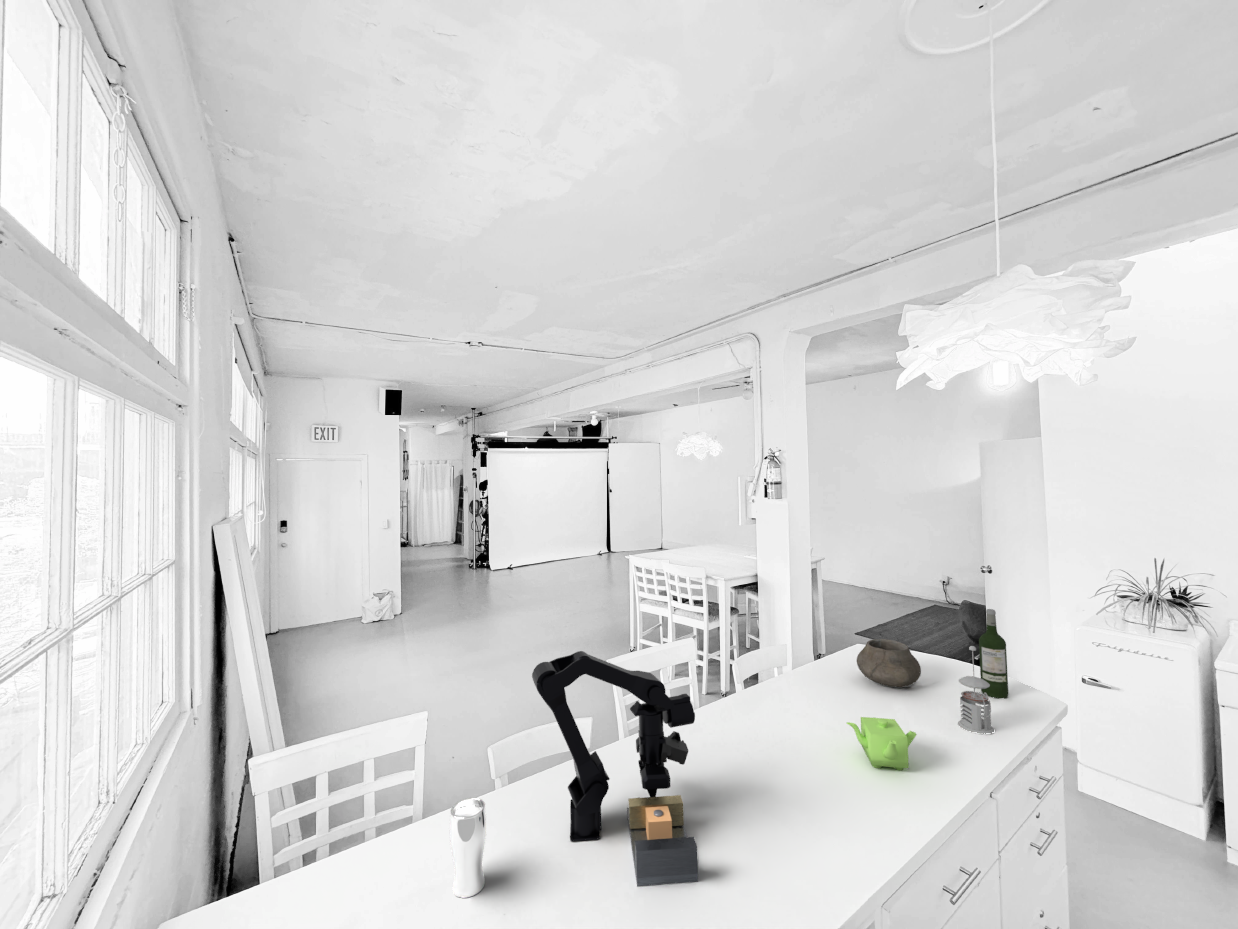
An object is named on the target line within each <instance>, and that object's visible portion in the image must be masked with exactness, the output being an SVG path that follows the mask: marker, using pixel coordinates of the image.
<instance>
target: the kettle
mask: <svg viewBox="0 0 1238 929" xmlns="http://www.w3.org/2000/svg"><path fill="white" fill-rule="evenodd" d="M846 724H847V725H849V726H850V727H852V729H853V730H854V732H855V735H856V739H857V742H859V744H860V745H861V747H862V749H863V751H864V753H865V755H866V757H867V759H868V761H869V763H870V765H871V766H872V767H873V768H875V769H881V768H882V767H887V768H894V769H895V770H897V771H903V770H904V769H907V770H908V769H909V767H910V766H909V747H910V746H911V744H912V743H913V740H914V739H915V738H916V736H917V735H918V734H917V733H916V732H915V731H912V730H909V731H908V732H907V733H905V732H904V730H903V728H901V726H900V725H899V723H898V722H897V721H896V720H895V719H894V718H882V717H868V716H867V717H866V716H863V717H862V716H860V729H859V726H858V725H857V724H856V723H854V722H850V721H849V722H846Z"/></svg>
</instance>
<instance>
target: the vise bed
mask: <svg viewBox="0 0 1238 929" xmlns="http://www.w3.org/2000/svg"><path fill="white" fill-rule="evenodd" d="M626 815H627V824H628V831H629V836H630V837H629V838H630V845H631V851H632V852H631V853H632V861H633V867H634V868H633V869H634V873H635V880H636V882H635V883H636V887H645V886H646V887H648V886H659V885H670V884H671V885H672V884H684V883H697V882H699V868H698V863H699V862H698V861H699V860H698V846H697V842H696V839H695V836H687V832H686V830H685V826H684V825H680V826H672V838H667V839H653V840H648V839H647V833H646V828H637V829H630V825H629V807H626Z"/></svg>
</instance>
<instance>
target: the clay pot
mask: <svg viewBox="0 0 1238 929" xmlns="http://www.w3.org/2000/svg"><path fill="white" fill-rule="evenodd" d="M856 665H857V668H858V669H859V671H860V672H861V674H863V675H864V677H865V678H866V679H868V680H870V681H871V682H873V683H876V684H878V685H881V686H884V687H887V688H888V687H889V688H904V687H909V686H912V685H913V684H915V683H917V681H918V680H919V679H920V677H921V674H922V666H921V665H920V662H919V661H918V659H917V658H916V657H915V656H914V655H913V654H912V652H911V650H910V648H909V646H908V645H907V644H905V643H903V642H899V641H897V640H893V639H886V638H877V639H876V638H875V639H874V638H873V639H869V640H868V641H867V642H866V643H865V645H864V647H863V648H862V649H861V650H860V652H858V654H857V657H856Z"/></svg>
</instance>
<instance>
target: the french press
mask: <svg viewBox="0 0 1238 929" xmlns="http://www.w3.org/2000/svg"><path fill="white" fill-rule="evenodd" d="M968 650H969V651H972V652H971V654H972V672H973V676H972V675H966V676H963V677H960V678H959V679H958V682H959V683H960V684H961V685H963V686H965V687H968V688H971V689H972V688H973V690H965V691H962V692H961V693H960V695H961V696H960V697H959V702H960V703H959V705H961V706H960V713H961V714H960V717H961V718H960V720H959V721H958V722H957V725H958V727H959V726H960V728H961V729H962V728H963V729H962V730H964V729H965V730H964V731H966V730H967V732H969V731H971V732H970V733H972V732H977V733H983V734H984V733H985V734H986V733H992V732H994V729H995V728H994V727H993V726H992V715H991V713H992V703H991V700H990V697H989V696H988V695H987V694H986V693H984V694H983V693H982V692H977V691H976V689H977V690H979V689H980V690H981V689H986V688H988V687H989V686H990V684H989V683H988V682H986V681H985V680H983V679H981V677H977V676H975V665H974V664H975V663H974V662H975V660H974V651H975V652H976V651H977V647H976V646H974V645H970V646H969V647H968ZM985 694H986V695H987V696H986V695H985ZM977 704H978V705H977ZM981 705H982V706H981ZM983 734H982V735H983Z"/></svg>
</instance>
